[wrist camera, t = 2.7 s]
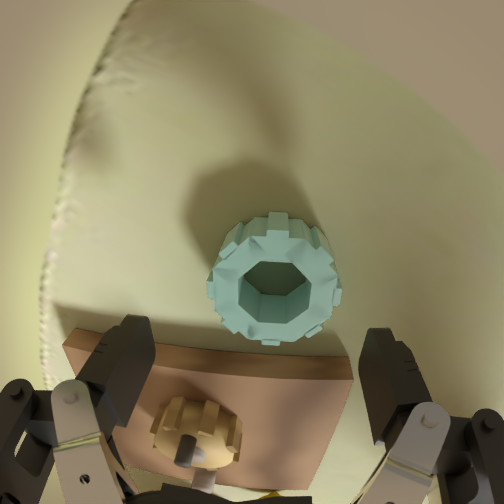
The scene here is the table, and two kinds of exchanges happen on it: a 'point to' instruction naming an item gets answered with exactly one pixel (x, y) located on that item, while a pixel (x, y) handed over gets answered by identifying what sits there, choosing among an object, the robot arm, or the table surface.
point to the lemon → (271, 495)
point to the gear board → (230, 415)
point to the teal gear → (274, 306)
